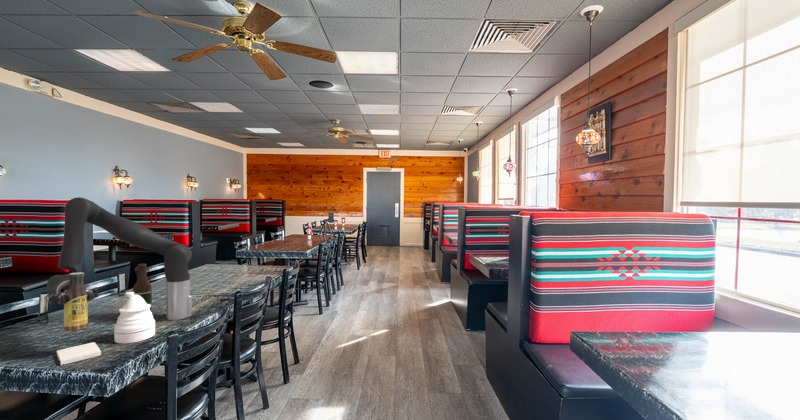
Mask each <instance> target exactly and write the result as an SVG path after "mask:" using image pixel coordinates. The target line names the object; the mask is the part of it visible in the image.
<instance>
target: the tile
mask: <svg viewBox="0 0 800 420" xmlns="http://www.w3.org/2000/svg"><path fill="white" fill-rule="evenodd" d="M101 355H102V350H101V348H100V347H99V346H98V345H97V343H96V342H95V341H94V342H93V341H92V342H88V343H85V344H80V345H75V346H71V347H67V348H62V349H58V350H56V356H57V359H58V362H59V361H60V362H59V363H60V366H63V364H64V365H66V364H71V363H74V362H79V361H84V360H87V359H91V358H95V357H99V356H101Z"/></svg>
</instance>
